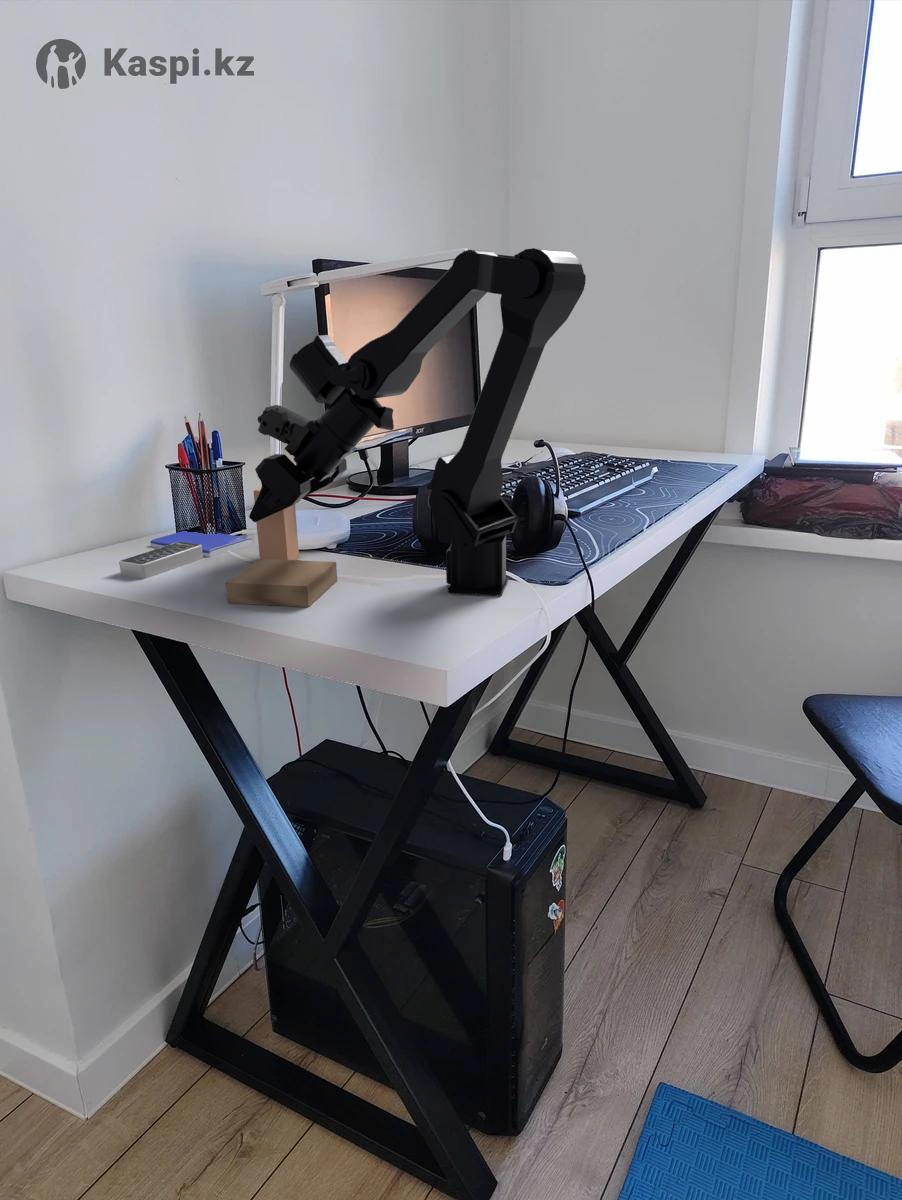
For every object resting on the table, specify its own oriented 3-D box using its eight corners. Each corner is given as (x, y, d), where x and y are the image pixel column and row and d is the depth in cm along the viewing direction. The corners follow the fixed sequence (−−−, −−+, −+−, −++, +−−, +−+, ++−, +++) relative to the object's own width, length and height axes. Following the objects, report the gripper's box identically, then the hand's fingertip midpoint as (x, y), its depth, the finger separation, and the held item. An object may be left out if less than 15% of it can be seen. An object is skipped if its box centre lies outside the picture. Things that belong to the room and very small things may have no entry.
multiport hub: (119, 577, 112) (117, 560, 111) (181, 556, 121) (179, 541, 120) (144, 582, 110) (141, 565, 109) (204, 560, 119) (203, 544, 118)
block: (299, 556, 118) (293, 485, 115) (288, 565, 114) (281, 491, 111) (272, 555, 119) (265, 484, 116) (260, 563, 115) (253, 490, 112)
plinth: (337, 581, 107) (336, 561, 106) (308, 607, 98) (307, 586, 97) (262, 577, 109) (261, 558, 108) (227, 602, 100) (225, 582, 99)
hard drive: (251, 536, 125) (193, 527, 131) (208, 550, 119) (149, 539, 125) (252, 547, 126) (194, 537, 132) (210, 560, 119) (151, 550, 125)
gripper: (319, 377, 117) (252, 457, 123) (264, 390, 100) (188, 482, 105) (377, 436, 118) (307, 512, 124) (332, 459, 101) (253, 546, 106)
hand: (266, 511), depth 115 cm, fingers open, 9 cm apart
